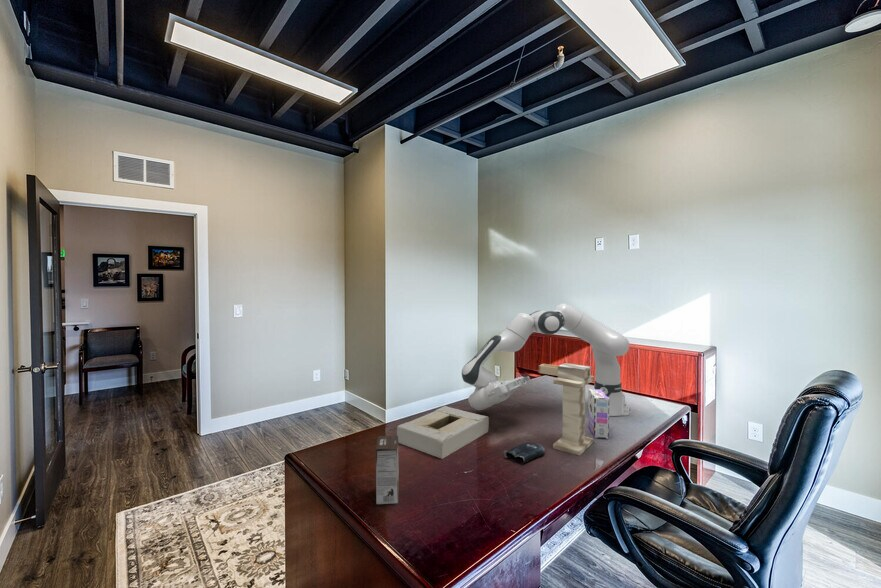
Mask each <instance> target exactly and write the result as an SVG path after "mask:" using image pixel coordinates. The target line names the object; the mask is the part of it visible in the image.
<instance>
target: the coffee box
mask: <svg viewBox="0 0 881 588" xmlns="http://www.w3.org/2000/svg"><path fill="white" fill-rule="evenodd" d="M375 445H376V447H375V472H376V473H375V478H376V479H375V482H376V483H375V485H376V487H375V495H376V496H375V497H376V499H375V501H376V503H375V504H376V505H386V504H388V505H390V504H399V491H400V490H399V487H400V484H399V482H400V481H399V480H400V479H399V478H400V477H399V475H400V474H399V472H400V471H399V468H400V466H399V465H400V464H399V463H400V461H399V460H400V459H399V458H400V457H399V454H400V453H399V443H398V436H397V435H379V436H377V439H376V444H375Z"/></svg>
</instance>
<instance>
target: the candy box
mask: <svg viewBox="0 0 881 588" xmlns="http://www.w3.org/2000/svg"><path fill="white" fill-rule="evenodd" d="M587 392H588V393H587V394H588V397H587V399H588V404H587V409H588V417H587V419H588V420H587V421H588V428H589V430H590V432H591V434H592V436H593V438H595V439H605V440H609V439H610V436H609V435H610V432H609V431H610V416H609V398H608V397H607V395H606V394H605V393H604V392H603V391H602V390H600V389H595V388H588V391H587Z"/></svg>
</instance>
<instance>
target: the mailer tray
mask: <svg viewBox="0 0 881 588" xmlns="http://www.w3.org/2000/svg"><path fill="white" fill-rule="evenodd" d="M558 366H559V365H554V364H549V363H548V364H547V363H542V364H540V365H539V364H538V374H543V375H551V376H557V377H558ZM587 378H588V370H587V371H585V379H587Z"/></svg>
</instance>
